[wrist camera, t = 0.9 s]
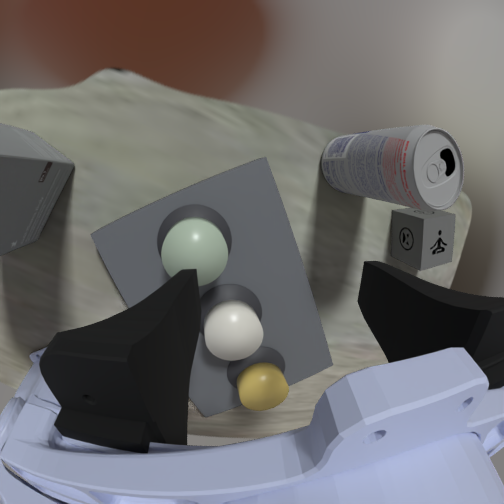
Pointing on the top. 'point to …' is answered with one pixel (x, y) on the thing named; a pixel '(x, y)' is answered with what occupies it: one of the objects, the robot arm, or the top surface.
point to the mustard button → (262, 386)
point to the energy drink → (397, 166)
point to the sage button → (195, 249)
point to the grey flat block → (228, 276)
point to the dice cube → (422, 237)
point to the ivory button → (232, 330)
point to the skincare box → (27, 185)
